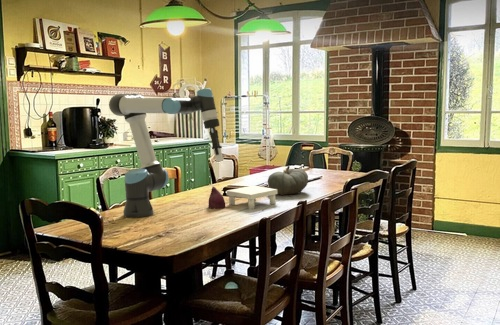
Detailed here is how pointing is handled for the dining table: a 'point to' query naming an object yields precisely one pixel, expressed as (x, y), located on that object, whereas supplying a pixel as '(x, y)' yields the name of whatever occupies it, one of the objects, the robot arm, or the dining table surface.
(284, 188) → the gourd
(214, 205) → the vegetable
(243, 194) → the footstool
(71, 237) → the dining table surface
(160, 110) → the robot arm
